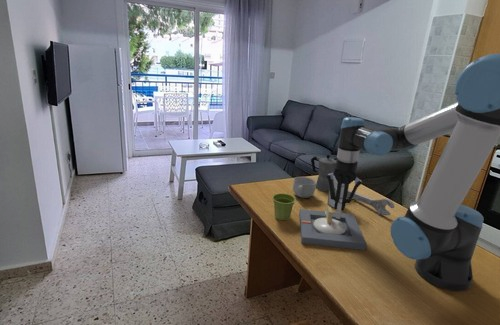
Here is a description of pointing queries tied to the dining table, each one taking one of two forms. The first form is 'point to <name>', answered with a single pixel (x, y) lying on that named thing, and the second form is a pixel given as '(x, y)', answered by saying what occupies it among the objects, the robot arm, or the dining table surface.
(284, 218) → the plant pot
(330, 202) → the syrup box
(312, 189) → the teacup
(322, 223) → the dial
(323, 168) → the coffeepot
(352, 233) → the dial housing
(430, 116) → the robot arm
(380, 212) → the wrench
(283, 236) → the dining table surface
